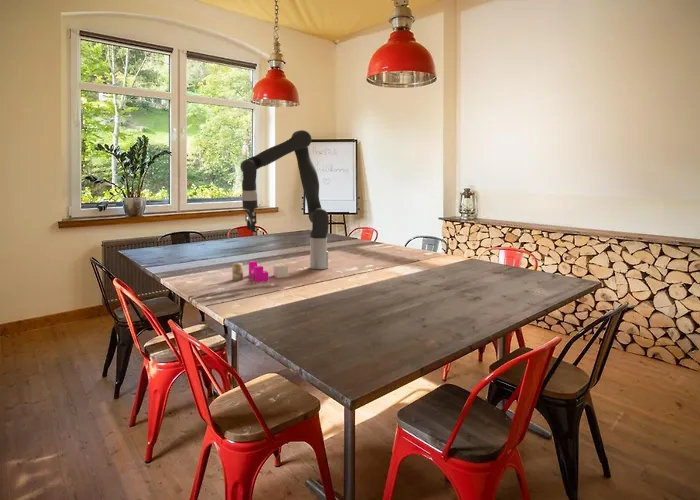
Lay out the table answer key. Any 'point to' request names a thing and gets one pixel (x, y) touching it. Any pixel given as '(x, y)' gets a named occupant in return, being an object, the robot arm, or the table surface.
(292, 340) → the table surface
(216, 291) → the table surface
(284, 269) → the beige cube
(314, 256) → the robot arm
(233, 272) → the birch cylinder
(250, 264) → the toy block
